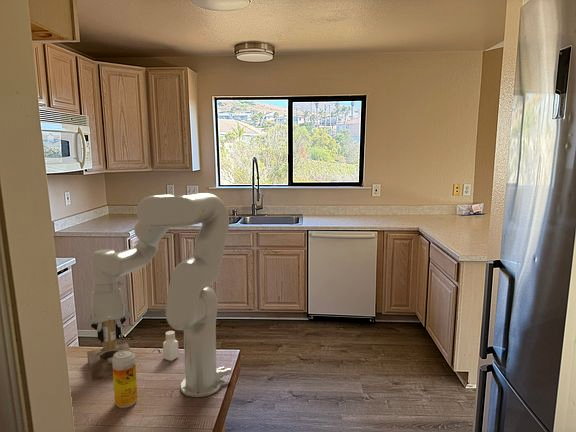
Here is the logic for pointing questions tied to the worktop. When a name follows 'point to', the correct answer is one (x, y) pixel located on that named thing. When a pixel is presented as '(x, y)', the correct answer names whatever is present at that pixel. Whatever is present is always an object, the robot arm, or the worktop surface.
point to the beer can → (124, 378)
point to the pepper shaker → (170, 346)
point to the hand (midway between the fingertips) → (109, 338)
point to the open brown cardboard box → (103, 361)
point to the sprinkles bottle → (109, 335)
